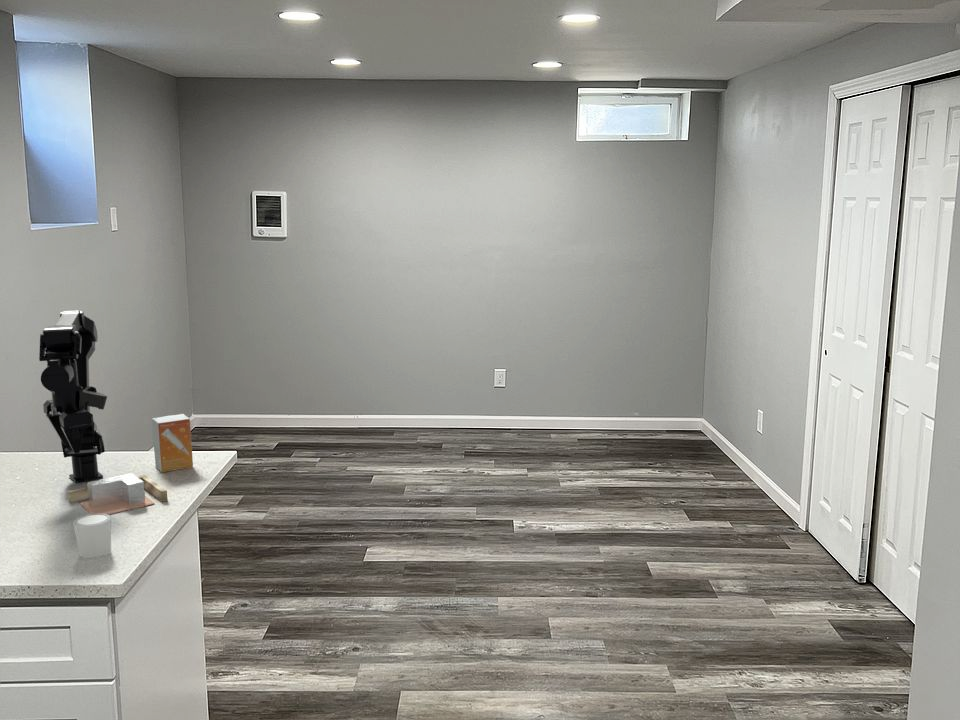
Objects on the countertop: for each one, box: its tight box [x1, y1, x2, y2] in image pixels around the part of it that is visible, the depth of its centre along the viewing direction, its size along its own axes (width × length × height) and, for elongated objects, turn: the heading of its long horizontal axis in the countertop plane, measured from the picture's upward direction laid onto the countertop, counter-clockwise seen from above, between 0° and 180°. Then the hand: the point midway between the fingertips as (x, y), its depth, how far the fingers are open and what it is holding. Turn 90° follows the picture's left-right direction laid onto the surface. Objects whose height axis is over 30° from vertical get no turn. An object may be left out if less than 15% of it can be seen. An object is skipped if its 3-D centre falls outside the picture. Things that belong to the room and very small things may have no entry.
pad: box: [80, 495, 155, 515], centre depth 205 cm, size 11×13×1 cm
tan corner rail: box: [67, 474, 169, 504], centre depth 207 cm, size 15×18×2 cm
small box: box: [151, 413, 194, 473], centre depth 230 cm, size 8×6×13 cm
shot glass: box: [72, 513, 112, 559], centre depth 177 cm, size 7×7×7 cm
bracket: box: [86, 473, 146, 507], centre depth 204 cm, size 10×8×5 cm
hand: (71, 448), depth 207 cm, fingers open, 9 cm apart
